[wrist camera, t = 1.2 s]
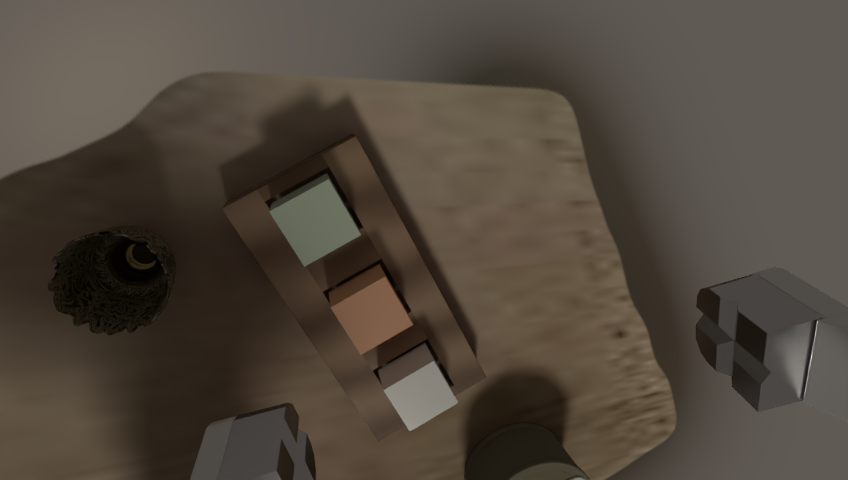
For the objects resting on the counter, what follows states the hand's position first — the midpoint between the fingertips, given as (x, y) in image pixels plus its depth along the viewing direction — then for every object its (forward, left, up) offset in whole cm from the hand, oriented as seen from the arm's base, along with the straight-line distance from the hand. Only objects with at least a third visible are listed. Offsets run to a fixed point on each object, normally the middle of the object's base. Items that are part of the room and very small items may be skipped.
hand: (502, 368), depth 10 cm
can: (-38, +1, -36) cm, 53 cm away
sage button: (-2, +5, -33) cm, 34 cm away
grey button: (-20, +5, -33) cm, 39 cm away
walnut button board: (-11, +5, -36) cm, 38 cm away
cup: (+2, +19, -36) cm, 41 cm away
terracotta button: (-11, +5, -33) cm, 35 cm away
